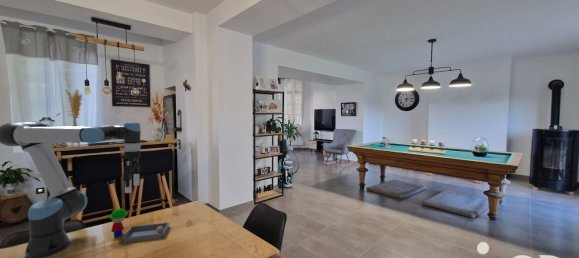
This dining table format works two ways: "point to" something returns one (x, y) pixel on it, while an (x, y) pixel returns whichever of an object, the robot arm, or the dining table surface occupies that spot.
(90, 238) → the dining table surface
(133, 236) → the tray
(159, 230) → the ball
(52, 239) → the robot arm
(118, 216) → the toy
